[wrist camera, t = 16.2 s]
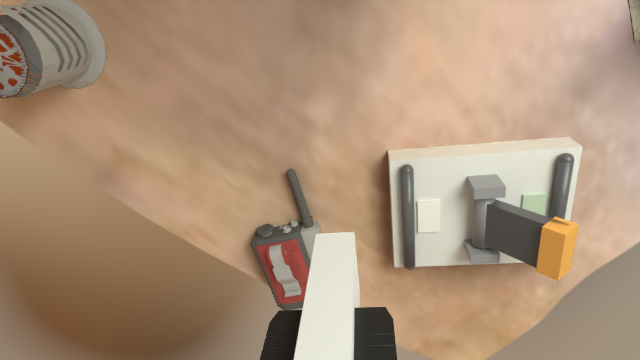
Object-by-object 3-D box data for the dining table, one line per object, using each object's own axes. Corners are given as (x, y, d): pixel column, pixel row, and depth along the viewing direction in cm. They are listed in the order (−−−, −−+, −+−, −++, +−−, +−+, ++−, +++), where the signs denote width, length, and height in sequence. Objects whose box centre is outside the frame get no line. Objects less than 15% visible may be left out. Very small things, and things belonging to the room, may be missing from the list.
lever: (469, 196, 41) (566, 230, 34) (483, 188, 43) (579, 219, 35) (467, 244, 44) (557, 285, 37) (480, 235, 45) (569, 273, 38)
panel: (387, 150, 45) (391, 172, 39) (568, 136, 42) (598, 158, 37) (392, 252, 51) (396, 284, 45) (551, 245, 48) (575, 278, 43)
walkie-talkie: (343, 292, 55) (300, 162, 47) (342, 316, 51) (294, 178, 43) (283, 302, 56) (232, 178, 49) (277, 325, 53) (221, 195, 45)
